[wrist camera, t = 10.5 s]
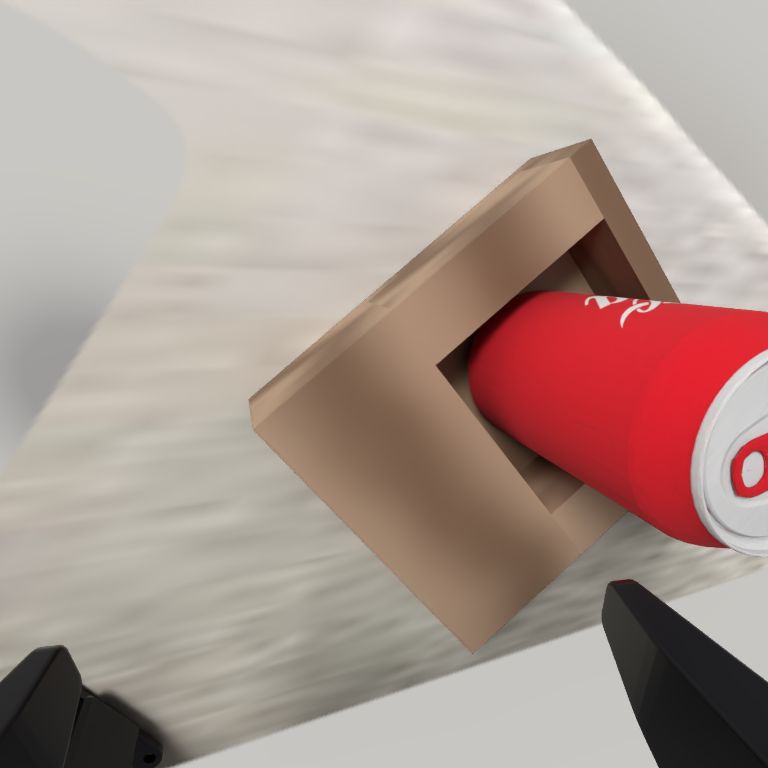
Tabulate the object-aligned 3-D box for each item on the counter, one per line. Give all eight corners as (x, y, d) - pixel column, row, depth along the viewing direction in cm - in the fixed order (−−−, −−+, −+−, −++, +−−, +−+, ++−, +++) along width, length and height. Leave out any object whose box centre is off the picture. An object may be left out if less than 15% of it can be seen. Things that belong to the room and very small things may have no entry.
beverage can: (599, 402, 25) (898, 520, 14) (479, 450, 24) (698, 620, 13) (576, 269, 23) (897, 281, 12) (444, 314, 22) (664, 374, 11)
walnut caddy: (437, 596, 26) (472, 654, 22) (248, 399, 22) (252, 429, 18) (667, 388, 27) (738, 409, 23) (530, 158, 22) (591, 138, 19)
